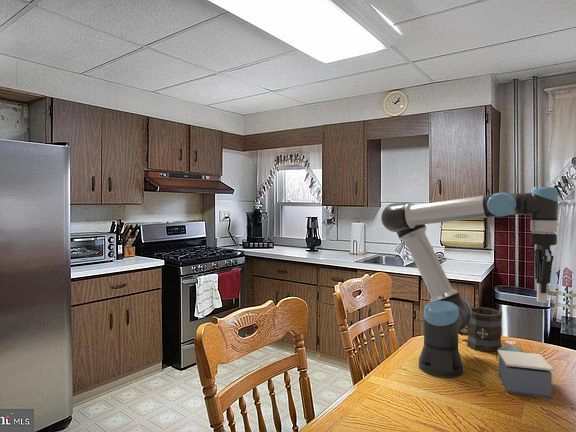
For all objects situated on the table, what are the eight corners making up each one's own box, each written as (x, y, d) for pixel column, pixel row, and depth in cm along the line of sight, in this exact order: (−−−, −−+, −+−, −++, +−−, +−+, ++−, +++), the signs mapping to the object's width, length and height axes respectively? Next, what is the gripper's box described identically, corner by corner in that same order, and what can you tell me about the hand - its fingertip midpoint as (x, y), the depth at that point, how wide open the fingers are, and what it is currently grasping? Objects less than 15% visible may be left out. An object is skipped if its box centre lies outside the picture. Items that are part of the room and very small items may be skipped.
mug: (508, 348, 162) (509, 312, 161) (491, 355, 154) (492, 318, 154) (464, 335, 178) (464, 302, 178) (446, 341, 170) (446, 307, 170)
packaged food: (520, 355, 155) (520, 343, 155) (534, 368, 143) (534, 354, 143) (496, 354, 156) (496, 342, 156) (508, 366, 145) (508, 353, 144)
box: (507, 393, 124) (507, 368, 124) (498, 374, 138) (498, 351, 137) (551, 398, 121) (551, 373, 120) (537, 379, 134) (538, 356, 134)
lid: (506, 365, 124) (506, 363, 124) (497, 351, 137) (497, 349, 137) (553, 371, 120) (553, 369, 120) (539, 355, 134) (539, 354, 134)
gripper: (563, 234, 125) (561, 307, 126) (550, 231, 138) (548, 298, 139) (536, 234, 128) (534, 306, 129) (525, 231, 140) (524, 296, 141)
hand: (541, 301), depth 134 cm, fingers closed
